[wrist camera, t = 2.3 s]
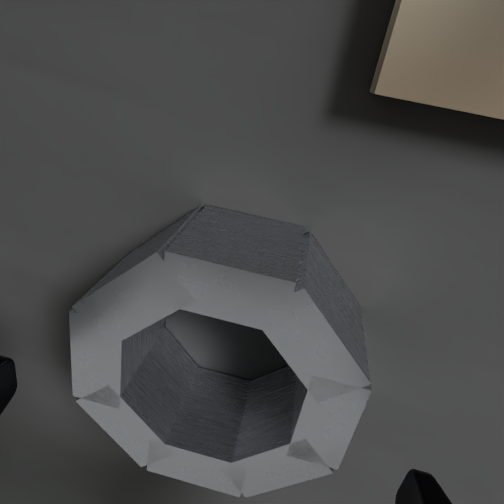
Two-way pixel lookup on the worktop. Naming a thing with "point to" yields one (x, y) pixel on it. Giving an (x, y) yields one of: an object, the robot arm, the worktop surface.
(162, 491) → the worktop surface
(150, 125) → the worktop surface
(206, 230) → the ring
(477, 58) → the post stand
